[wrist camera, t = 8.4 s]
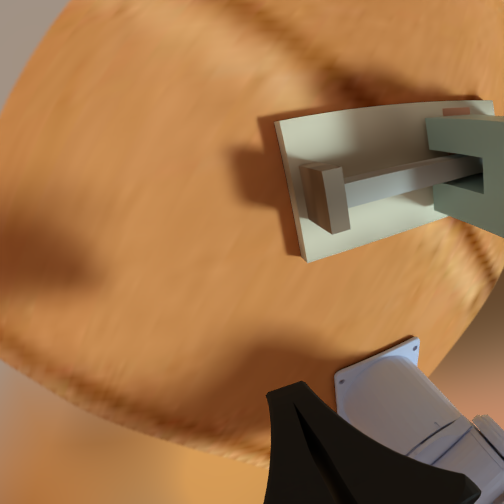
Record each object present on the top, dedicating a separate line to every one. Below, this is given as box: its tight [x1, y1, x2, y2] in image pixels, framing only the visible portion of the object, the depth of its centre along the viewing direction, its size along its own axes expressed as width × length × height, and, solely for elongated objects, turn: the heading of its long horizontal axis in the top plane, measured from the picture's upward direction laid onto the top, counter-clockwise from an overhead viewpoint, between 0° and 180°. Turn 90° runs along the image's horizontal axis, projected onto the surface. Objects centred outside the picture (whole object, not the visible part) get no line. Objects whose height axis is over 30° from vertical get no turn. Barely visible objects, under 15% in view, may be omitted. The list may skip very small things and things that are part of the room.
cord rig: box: [274, 100, 495, 263], centre depth 16 cm, size 8×18×6 cm, turn 103°
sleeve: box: [425, 114, 504, 238], centre depth 15 cm, size 6×5×6 cm
